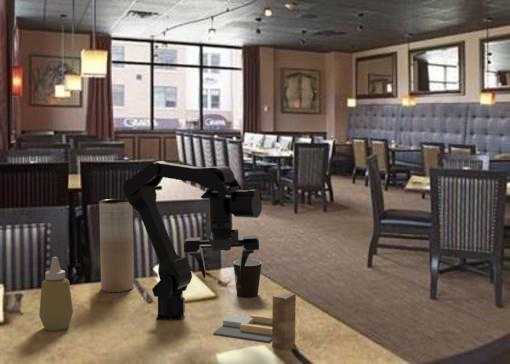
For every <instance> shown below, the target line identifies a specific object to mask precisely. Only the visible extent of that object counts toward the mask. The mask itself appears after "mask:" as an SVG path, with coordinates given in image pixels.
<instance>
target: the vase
mask: <svg viewBox="0 0 510 364" xmlns="http://www.w3.org/2000/svg"><path fill="white" fill-rule="evenodd" d="M98 203H99V240H100V241H99V243H100V244H99V246H100V247H99V249H100V287H101V290H102V292H106V293H123V292H127V291H130V289H131V290H132V289H133V288H134V232H133V229H134V228H133V227H134V225H133V223H134V222H133V220H134V219H133V217H134V215H133V206H131V205H130V204H129V202H128V200H127V199H126V198H109V199H101V200H99V202H98Z"/></svg>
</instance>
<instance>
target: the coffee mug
mask: <svg viewBox="0 0 510 364" xmlns="http://www.w3.org/2000/svg"><path fill="white" fill-rule="evenodd" d="M240 264H241V259H236V260H234V261H233V264H232V265H233V272H234V280H235V283H234V284H235V290H236V296H237V297H239V298H245V299H246V298H247V299H249V298H250V299H252V298H255V297H257V296H258V295H259V289H260V280H261V270H262V261H261V260H259V259H253V258H251V259H250V258H247V261H246V264H245V267H244V271H243V274H242V277H240Z"/></svg>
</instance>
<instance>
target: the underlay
mask: <svg viewBox="0 0 510 364" xmlns="http://www.w3.org/2000/svg"><path fill="white" fill-rule="evenodd" d="M212 335H217V336H223V337H229V338H237V339H241V340H250V341H257V342H262V343H263V342H264V343H271V342H272V316H268V315H260V314H255V313H252V314H251V315H250V317H247V316H241V315H240V316H239V315H232V314H230V315H228V316H227V317H226V318H225V319H223V320H222V325H221V326H220V327H218V328H217V329H216V330H215V331H214V332H213V334H212Z"/></svg>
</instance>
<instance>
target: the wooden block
mask: <svg viewBox="0 0 510 364" xmlns="http://www.w3.org/2000/svg"><path fill="white" fill-rule="evenodd" d="M296 295H297V294H296V293H293V292H289V291H288V292H287V291H281V292H279V293H277V294H274V295H272V315H271V317H272V340H271V347H272V348H276V349H279V350H282V351H283V350H284V351H286V350H288V349H289V348H291V347H293V346H294V345H296V305H297V304H296V301H297V299H296Z"/></svg>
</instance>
